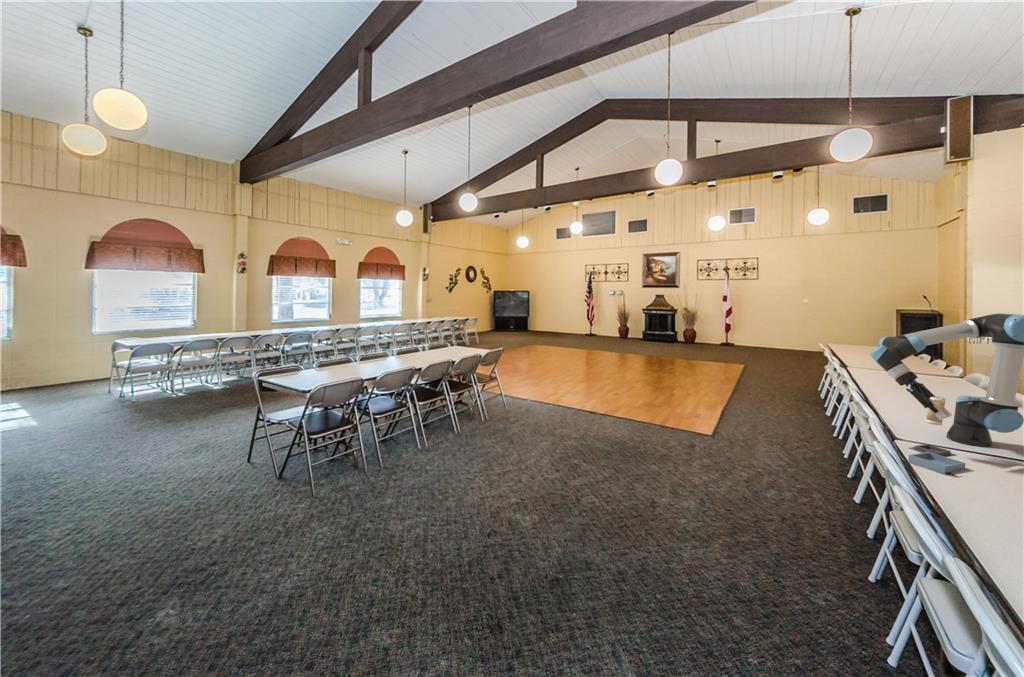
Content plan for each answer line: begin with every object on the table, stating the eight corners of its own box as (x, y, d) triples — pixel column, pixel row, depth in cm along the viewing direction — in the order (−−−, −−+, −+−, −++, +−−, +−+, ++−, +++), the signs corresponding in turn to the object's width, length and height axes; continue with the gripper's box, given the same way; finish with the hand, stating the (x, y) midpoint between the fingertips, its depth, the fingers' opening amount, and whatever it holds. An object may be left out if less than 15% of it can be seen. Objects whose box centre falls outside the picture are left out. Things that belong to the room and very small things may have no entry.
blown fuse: (930, 421, 187) (934, 396, 186) (944, 424, 183) (948, 399, 181) (923, 422, 186) (926, 396, 185) (936, 425, 181) (940, 399, 180)
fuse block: (924, 447, 194) (925, 442, 194) (957, 457, 183) (958, 451, 182) (907, 450, 191) (907, 445, 191) (939, 460, 179) (940, 454, 179)
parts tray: (927, 459, 180) (928, 451, 180) (964, 471, 169) (965, 463, 168) (908, 462, 177) (909, 454, 177) (944, 474, 165) (945, 466, 165)
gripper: (902, 377, 200) (944, 418, 188) (886, 381, 191) (930, 424, 179) (918, 368, 195) (962, 410, 182) (902, 372, 186) (948, 416, 174)
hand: (946, 417), depth 181 cm, fingers closed on blown fuse, 5 cm apart
